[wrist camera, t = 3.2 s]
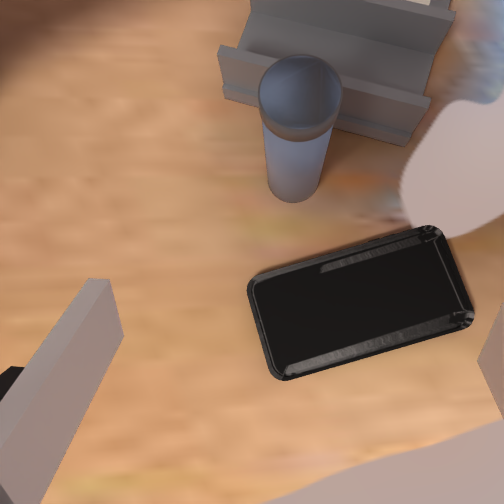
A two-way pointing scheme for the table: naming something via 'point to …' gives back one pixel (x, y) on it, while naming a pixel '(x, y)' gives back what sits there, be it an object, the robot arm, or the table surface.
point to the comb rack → (347, 56)
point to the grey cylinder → (297, 122)
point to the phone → (358, 302)
